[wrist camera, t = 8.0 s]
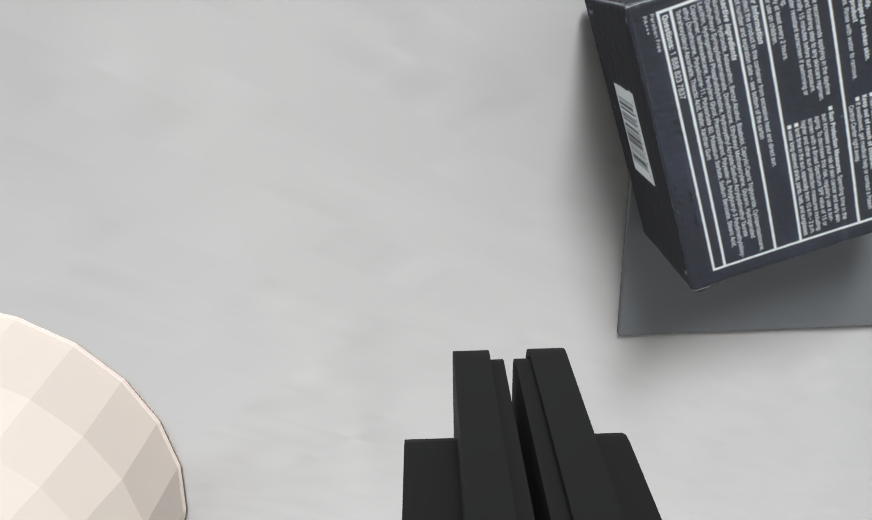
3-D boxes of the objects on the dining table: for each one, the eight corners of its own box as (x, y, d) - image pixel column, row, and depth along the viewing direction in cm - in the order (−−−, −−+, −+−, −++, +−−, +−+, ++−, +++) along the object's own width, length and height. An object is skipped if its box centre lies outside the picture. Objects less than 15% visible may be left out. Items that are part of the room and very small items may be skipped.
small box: (639, 235, 33) (882, 159, 31) (690, 300, 26) (992, 208, 25) (579, -9, 29) (854, -105, 28) (623, 2, 23) (976, -121, 22)
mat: (990, -106, 28) (998, -107, 28) (891, 320, 35) (896, 323, 35) (650, -99, 28) (654, -100, 27) (617, 331, 35) (619, 335, 34)
